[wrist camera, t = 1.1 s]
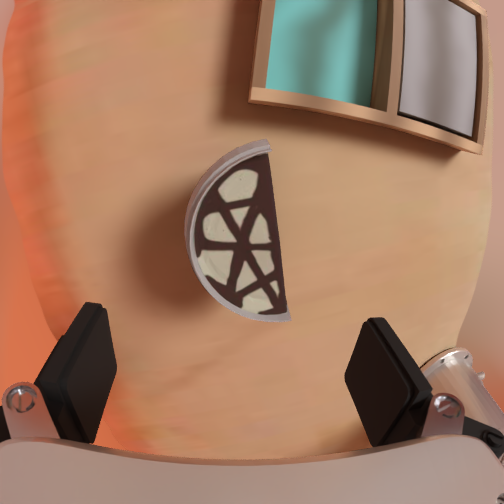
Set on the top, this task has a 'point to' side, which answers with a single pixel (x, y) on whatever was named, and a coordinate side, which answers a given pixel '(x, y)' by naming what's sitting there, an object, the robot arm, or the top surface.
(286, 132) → the top surface
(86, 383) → the robot arm
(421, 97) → the compartment tray
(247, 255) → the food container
